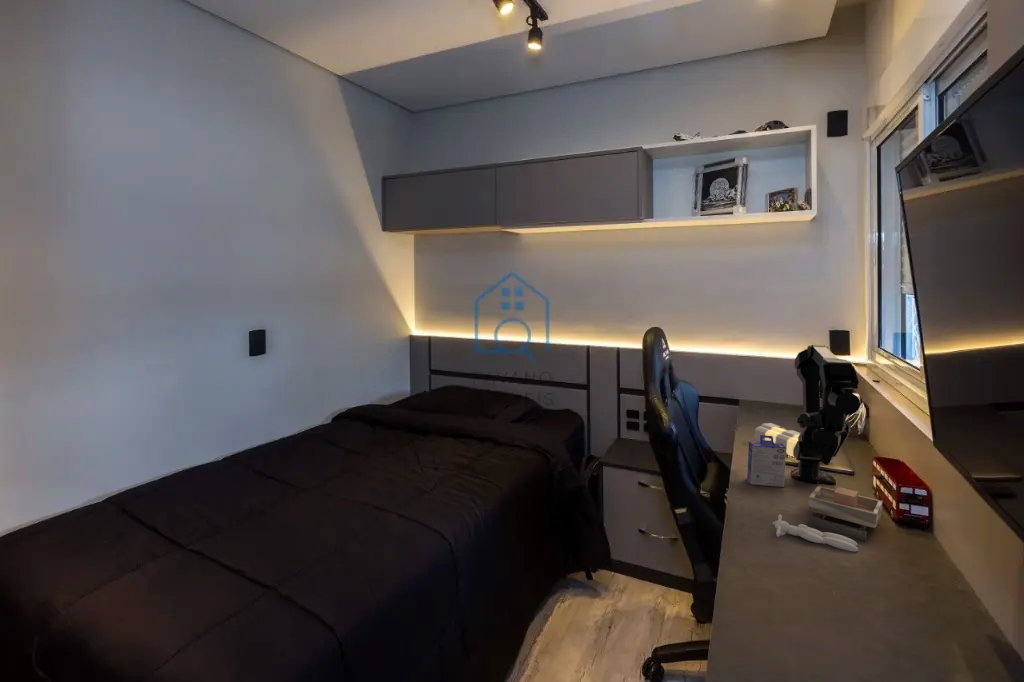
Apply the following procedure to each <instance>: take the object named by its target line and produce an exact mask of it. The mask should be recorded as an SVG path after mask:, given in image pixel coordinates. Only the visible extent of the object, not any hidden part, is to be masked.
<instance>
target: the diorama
mask: <svg viewBox="0 0 1024 682" xmlns="http://www.w3.org/2000/svg"><path fill="white" fill-rule="evenodd" d="M823 429H824V428H823ZM754 430H755V431H754V442H760V435H765V436H773V442H774V443H782V444H783V445H784V446H785V447H786V454H788V455H790V456H793V449H794V447H795V445H796V443H797V441H798V436H799V435H800V433H801V432H799V431H796V430H794V429H793V430H792V429H791V430H787V429H786V428H784V427H782V426H780V425H779V424H775V423H772V422H765V423H761V424H760V425H759V426H757V427H756V428H755V429H754ZM762 440H768V441H771V439H769V438H763V439H762ZM793 457H794V456H793ZM834 458H835V457H832V459H831V461H832V462H833V460H834Z"/></svg>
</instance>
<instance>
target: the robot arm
mask: <svg viewBox="0 0 1024 682" xmlns="http://www.w3.org/2000/svg"><path fill="white" fill-rule="evenodd" d="M829 349H830V348H829V346H828V345H825V344H811V345H807V348H806V349H804V350H802V351H800V352H798V353H797V354H796V356H795V358H794V369H795V370H796V376H797V377H798V378H799V380H800V381H801V382H802V409H803V410H802V411H803V412H801V413H800V414H799V415H797V417H796V418H797V420H796V423H797V424H798V425H799V427H800V428H801V429H802V428H803V429H802V431H801V432H799V433H800V435H799V436H798V441H797V443H796V445H795V447H794V449H793V456H794V457H795V459H794V460H796V461H798V468H797V469H798V471H797V474H799V475H800V477H801V479H804V480H806V481H805V482H809V481H810V482H809V483H813V484H818V483H819V482H818V481H815V480H813V478H816V477H818V476H820V468H821V463H823V465H824V466H828V465H829V464H831V463H830V461H831V459H832V457H834V458H835V457H836V456H837V454H838V452H839V451H840V449H841V447H842V446H843V444H844V442H845V441H846V439H847V437H848V436H849V435H850V432H851V429H852V424H851V422H850V421H848V420H847V419H846V416H849V415H854V414H856V413H858V411H859V410H860V408H861V400H860V398H859V397H858V396H857V395H856V394H854V389H855V390H856V389H857V390H858V388H859V386H858V385H859V383H860V381H859V377H858V375H857V371H856V369H855V366H854V365H853V363H852V362H851V361H849V360H847V359H842V358H838V357H837V356H836V355H835V354H834V353H832V351H831V350H829ZM820 382H821V383H822V386H823V388H822V389H823V390H822V399H821V396H820ZM820 399H821V400H822V401H821V400H820ZM820 401H821V402H822V403H820ZM823 428H824V429H823ZM796 478H797V477H795V476H794V479H796ZM804 480H803V481H804Z"/></svg>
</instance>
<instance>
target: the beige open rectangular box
mask: <svg viewBox="0 0 1024 682" xmlns="http://www.w3.org/2000/svg"><path fill="white" fill-rule="evenodd" d="M835 490H836V489H834V488H830V487H829V488H828V487H824V486H821V485H818V486H817V487H816V488H815V489H814V491H813V492H812V493H811V495H810V496H809V497H808V506H807V507H808V508H807V511H810V512H812V513H816V514H818V517H821V518H823V516H824V515H826V517H827V516H828V517H832V518H835V519H839V520H843V521H847V522H850V523H855V524H856V525H857V524H858V525H859V528H862V529H864V527H865V526H867V527H868V528H873V529H876V527H877V526H878V522H879V520H880V519H881V515H882V513H883V512H882V511H883V504H884V503H883V502H884V501H883V500H880V499H877V498H872V497H868V496H863V495H860V494H858V499H857V508H853V507H849V506H845V505H841V504H837V503H833V501H834V492H835Z"/></svg>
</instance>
